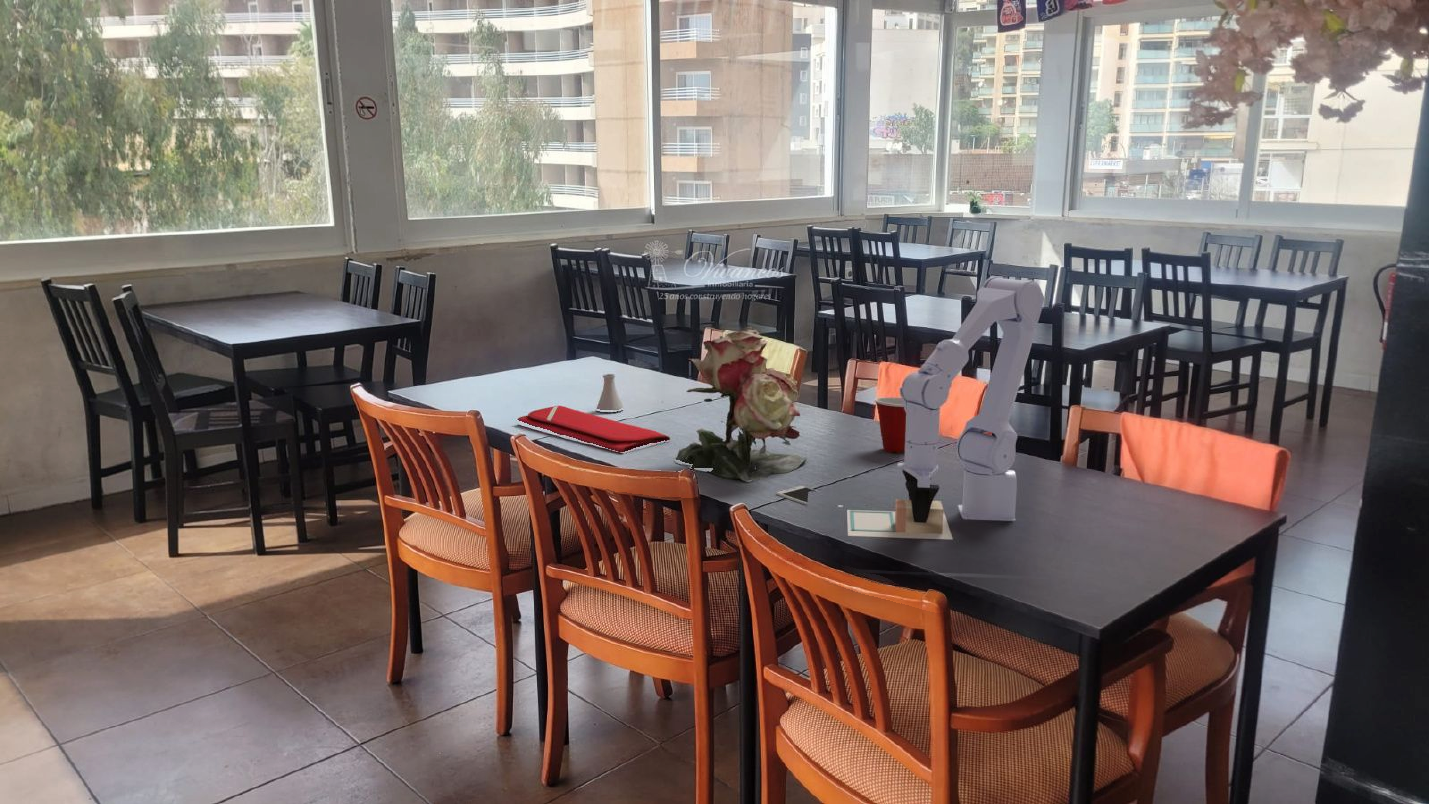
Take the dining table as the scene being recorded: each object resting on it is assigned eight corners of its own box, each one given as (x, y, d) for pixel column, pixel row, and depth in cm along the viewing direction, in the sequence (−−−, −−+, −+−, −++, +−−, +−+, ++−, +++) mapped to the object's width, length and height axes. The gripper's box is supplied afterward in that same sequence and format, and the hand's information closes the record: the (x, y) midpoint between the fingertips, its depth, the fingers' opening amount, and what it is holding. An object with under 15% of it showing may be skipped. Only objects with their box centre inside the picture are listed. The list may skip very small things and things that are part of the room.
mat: (944, 515, 187) (944, 512, 187) (952, 542, 173) (952, 538, 173) (846, 512, 189) (846, 509, 189) (847, 538, 175) (847, 535, 175)
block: (939, 524, 180) (940, 501, 179) (942, 533, 176) (943, 509, 175) (894, 523, 181) (895, 499, 180) (896, 532, 177) (897, 507, 176)
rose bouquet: (762, 489, 204) (763, 343, 197) (661, 462, 223) (659, 329, 216) (836, 463, 222) (839, 328, 215) (737, 440, 241) (737, 316, 235)
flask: (628, 410, 274) (627, 374, 272) (612, 415, 268) (611, 378, 266) (607, 406, 278) (606, 371, 275) (591, 412, 272) (589, 375, 269)
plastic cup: (929, 449, 232) (931, 398, 230) (903, 458, 225) (905, 406, 222) (889, 441, 240) (891, 392, 237) (863, 450, 232) (865, 399, 229)
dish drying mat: (621, 456, 230) (621, 441, 229) (515, 427, 257) (514, 413, 256) (670, 443, 241) (670, 428, 240) (564, 417, 268) (563, 403, 267)
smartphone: (830, 515, 188) (831, 511, 188) (775, 496, 200) (775, 491, 200) (857, 508, 193) (857, 503, 193) (801, 489, 205) (801, 485, 204)
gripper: (896, 430, 183) (893, 501, 186) (901, 450, 169) (898, 527, 171) (935, 431, 182) (931, 502, 185) (944, 452, 168) (940, 529, 171)
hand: (918, 514), depth 178 cm, fingers open, 7 cm apart
